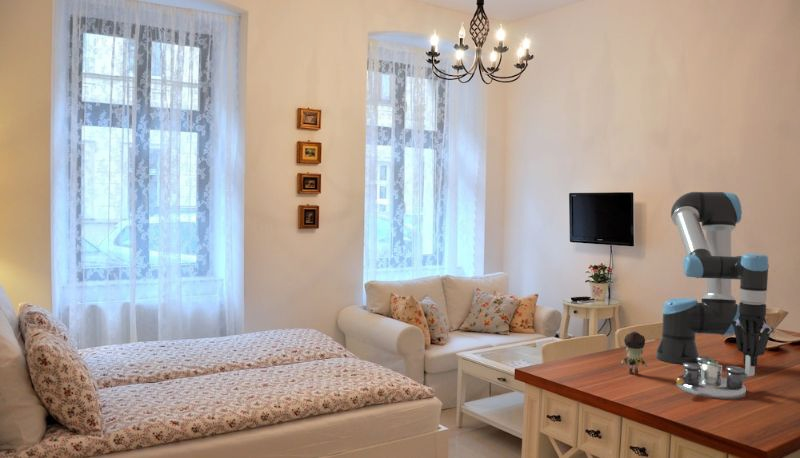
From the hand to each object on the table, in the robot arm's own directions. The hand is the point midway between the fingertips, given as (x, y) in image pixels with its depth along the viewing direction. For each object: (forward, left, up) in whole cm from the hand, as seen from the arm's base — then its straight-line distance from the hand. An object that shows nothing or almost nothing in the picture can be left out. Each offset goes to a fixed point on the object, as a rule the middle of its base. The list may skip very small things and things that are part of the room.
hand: (749, 375), depth 202 cm
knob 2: (-13, +2, -3) cm, 14 cm away
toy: (-34, -9, -5) cm, 36 cm away
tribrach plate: (-9, -8, -5) cm, 13 cm away
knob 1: (-13, -18, -3) cm, 22 cm away
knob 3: (-2, -4, -3) cm, 5 cm away
